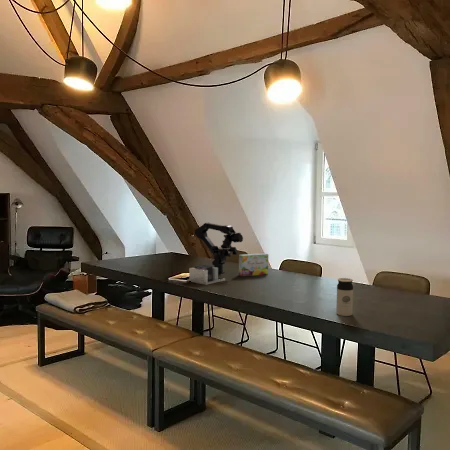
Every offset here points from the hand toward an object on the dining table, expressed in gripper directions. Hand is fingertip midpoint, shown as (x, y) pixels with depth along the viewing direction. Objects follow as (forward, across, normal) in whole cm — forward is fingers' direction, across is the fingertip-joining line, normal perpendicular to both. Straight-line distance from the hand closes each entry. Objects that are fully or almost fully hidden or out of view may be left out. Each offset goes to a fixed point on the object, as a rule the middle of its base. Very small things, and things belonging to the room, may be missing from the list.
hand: (220, 259), depth 346 cm
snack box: (-5, -16, -24) cm, 29 cm away
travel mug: (+48, -100, +28) cm, 114 cm away
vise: (+20, +3, +2) cm, 20 cm away
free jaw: (+17, +2, 0) cm, 17 cm away
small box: (+21, +4, +3) cm, 22 cm away
